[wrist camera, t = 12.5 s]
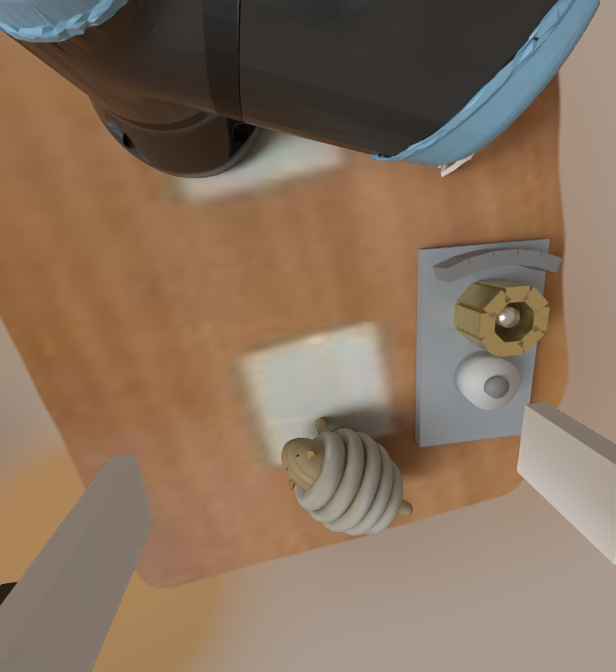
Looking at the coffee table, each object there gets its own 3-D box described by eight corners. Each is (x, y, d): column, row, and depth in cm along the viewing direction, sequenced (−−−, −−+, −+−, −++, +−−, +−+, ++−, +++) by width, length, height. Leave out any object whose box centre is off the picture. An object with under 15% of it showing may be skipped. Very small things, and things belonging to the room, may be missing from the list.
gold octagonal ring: (455, 283, 36) (483, 289, 32) (516, 277, 37) (552, 283, 32) (452, 344, 38) (477, 359, 34) (510, 338, 39) (543, 352, 34)
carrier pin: (475, 301, 37) (501, 309, 33) (492, 299, 37) (520, 307, 33) (474, 318, 38) (499, 328, 33) (490, 316, 38) (518, 326, 34)
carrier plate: (418, 249, 36) (441, 251, 31) (539, 238, 38) (581, 239, 32) (415, 440, 43) (433, 467, 38) (517, 427, 44) (549, 451, 39)
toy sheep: (299, 389, 40) (309, 444, 29) (416, 438, 43) (463, 503, 33) (262, 459, 42) (258, 534, 31) (376, 501, 46) (407, 580, 35)
